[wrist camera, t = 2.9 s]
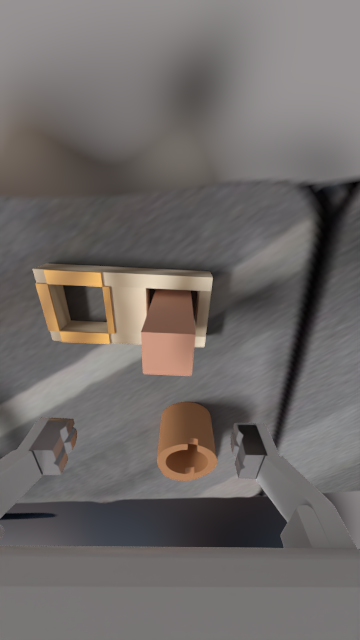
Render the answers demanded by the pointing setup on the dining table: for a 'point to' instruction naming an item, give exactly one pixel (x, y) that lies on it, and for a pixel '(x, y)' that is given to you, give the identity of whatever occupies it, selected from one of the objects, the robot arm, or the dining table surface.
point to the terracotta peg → (169, 334)
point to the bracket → (186, 442)
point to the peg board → (116, 300)
